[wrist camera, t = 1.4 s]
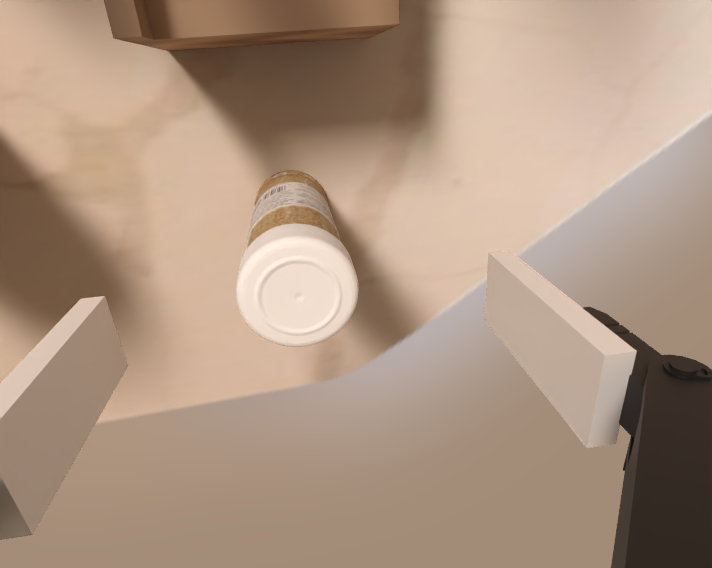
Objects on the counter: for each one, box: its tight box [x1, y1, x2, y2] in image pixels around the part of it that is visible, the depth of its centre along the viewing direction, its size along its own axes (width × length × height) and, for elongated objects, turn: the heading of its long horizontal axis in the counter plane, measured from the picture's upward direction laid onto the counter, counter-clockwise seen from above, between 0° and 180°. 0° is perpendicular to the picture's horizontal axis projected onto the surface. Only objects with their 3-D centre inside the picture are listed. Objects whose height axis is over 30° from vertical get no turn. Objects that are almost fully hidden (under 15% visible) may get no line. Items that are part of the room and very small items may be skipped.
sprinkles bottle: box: [236, 171, 359, 347], centre depth 23 cm, size 5×5×13 cm
